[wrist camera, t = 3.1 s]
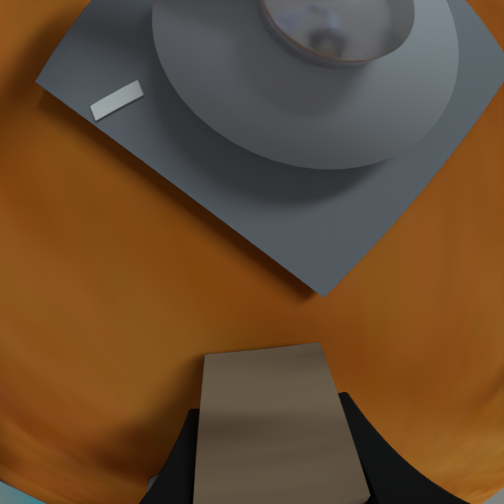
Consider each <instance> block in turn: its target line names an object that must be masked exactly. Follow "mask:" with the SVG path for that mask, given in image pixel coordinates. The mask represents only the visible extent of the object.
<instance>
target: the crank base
mask: <svg viewBox="0 0 504 504" xmlns="http://www.w3.org/2000/svg"><path fill="white" fill-rule="evenodd" d="M413 2H414V8H415V18H414V24H413V28H412V30H411V33H410V35H409V37H408V38H407V39H406V41H405V42H404V43H403V44H402V45H401V46H400V47H399V48H398V49H396V50H395V51H393V52H392V53H390V54H388V55H386V56H383V57H380V58H378V59H375V60H372V61H370V62H367V63H365V64H362V65H359V66H356V67H352V68H345V69H330V68H324V67H319V66H315V65H311V64H309V63H306V62H304V61H301V60H300V59H298V58H296V57H294V56H292V55H291V54H289V53H288V52H286V51H285V50H284V49H282V48H281V47H280V46H279V45H278V44H277V43H276V42H275V41H274V40H273V39H272V38H271V37H270V35H269V34H268V33H267V31H266V30H265V28H264V26H263V25H262V22H261V20H260V18H259V14H258V10H257V0H91V2H90V3H89V4H88V5H87V6H86V8H85V9H84V10H83V11H82V13H81V14H80V15H79V17H78V18H77V19H76V20H75V22H74V23H73V24H72V26H71V27H70V29H69V30H68V31H67V33H66V34H65V36H64V37H63V38H62V40H61V41H60V43H59V44H58V46H57V47H56V49H55V50H54V52H53V53H52V55H51V56H50V58H49V59H48V61H47V63H46V64H45V66H44V68H43V69H42V71H41V73H40V74H39V76H38V78H37V79H36V81H35V82H36V83H38V84H39V85H40V86H42V87H43V88H44V89H46V90H47V91H48V92H50V93H51V94H53V95H54V96H55V97H57V98H58V99H59V100H61V101H62V102H63V103H65V104H66V105H68V106H69V107H70V108H72V109H73V110H74V111H76V112H77V113H78V114H80V115H81V116H82V117H84V118H85V119H87V120H88V121H89V122H91V123H92V124H93V125H95V126H96V127H97V128H99V129H100V130H101V131H103V132H104V133H105V134H107V135H108V136H110V137H111V138H112V139H114V140H115V141H116V142H118V143H119V144H120V145H122V146H123V147H124V148H126V149H127V150H128V151H130V152H131V153H132V154H134V155H135V156H136V157H138V158H139V159H141V160H142V161H143V162H145V163H146V164H147V165H149V166H150V167H151V168H153V169H154V170H155V171H157V172H158V173H159V174H161V175H162V176H163V177H165V178H166V179H167V180H169V181H170V182H171V183H173V184H174V185H175V186H177V187H178V188H179V189H181V190H182V191H183V192H185V193H186V194H187V195H189V196H190V197H191V198H193V199H194V200H195V201H197V202H198V203H199V204H201V205H202V206H203V207H205V208H206V209H207V210H209V211H210V212H211V213H213V214H214V215H215V216H217V217H218V218H219V219H221V220H222V221H223V222H225V223H226V224H227V225H229V226H230V227H231V228H233V229H234V230H235V231H237V232H238V233H239V234H241V235H242V236H243V237H245V238H246V239H247V240H249V241H250V242H251V243H252V244H254V245H255V246H256V247H258V248H259V249H260V250H262V251H263V252H264V253H266V254H267V255H268V256H270V257H271V258H272V259H274V260H275V261H276V262H278V263H279V264H280V265H282V266H283V267H284V268H285V269H287V270H288V271H289V272H291V273H292V274H293V275H295V276H296V277H297V278H299V279H300V280H301V281H303V282H304V283H305V284H307V285H308V286H309V287H310V288H312V289H313V290H314V291H316V292H317V293H318V294H320V295H321V296H322V297H325V296H326V295H327V294H328V293H329V292H330V291H331V290H332V289H333V288H334V287H335V286H336V285H337V284H338V283H339V282H340V281H341V280H342V279H343V278H344V276H345V275H346V274H347V273H348V272H349V271H350V270H351V269H352V268H353V267H354V266H355V265H356V264H357V263H358V262H359V261H360V260H361V259H362V258H363V257H364V256H365V254H366V253H367V252H368V251H369V250H370V249H371V248H372V247H373V246H374V245H375V244H376V243H377V241H378V240H379V239H380V238H381V237H382V236H383V235H384V234H385V233H386V232H387V230H388V229H389V228H390V227H391V226H392V225H393V224H394V223H395V221H396V220H397V219H398V218H399V217H400V216H401V215H402V214H403V212H404V211H405V210H406V209H407V208H408V207H409V205H410V204H411V203H412V202H413V201H414V200H415V198H416V197H417V196H418V195H419V194H420V192H421V191H422V190H423V189H424V188H425V186H426V185H427V184H428V183H429V182H430V180H431V179H432V178H433V177H434V175H435V174H436V173H437V172H438V171H439V169H440V168H441V167H442V166H443V164H444V163H445V162H446V160H447V159H448V158H449V157H450V155H451V154H452V153H453V152H454V150H455V149H456V148H457V146H458V145H459V144H460V142H461V141H462V140H463V138H464V137H465V136H466V134H467V133H468V132H469V130H470V129H471V128H472V126H473V125H474V124H475V122H476V121H477V119H478V118H479V117H480V115H481V114H482V112H483V111H484V110H485V108H486V107H487V105H488V104H489V103H490V101H491V100H492V98H493V97H494V95H495V94H496V92H497V91H498V89H499V88H500V86H501V85H502V83H503V82H504V52H503V51H502V49H501V48H500V46H499V45H498V43H497V42H496V40H495V39H494V37H493V36H492V34H491V33H490V32H489V30H488V29H487V27H486V26H485V25H484V23H483V22H482V21H481V19H480V18H479V17H478V15H477V14H476V13H475V12H474V10H473V9H472V8H471V7H470V5H469V4H468V3H467V2H466V1H465V0H413Z"/></svg>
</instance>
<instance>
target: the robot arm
mask: <svg viewBox="0 0 504 504" xmlns="http://www.w3.org/2000/svg"><path fill="white" fill-rule="evenodd" d="M338 396H339V399H340V402H341V405H342V408H343V411H344V414H345V417H346V420H347V423H348V426H349V429H350V432H351V435H352V438H353V441H354V445H355V448H356V451H357V454H358V457H359V460H360V463H361V467H362V470H363V473H364V476H365V480H366V483H367V486H368V489H369V493H370V497H369V498H368V500H367V502H366V503H365V504H470V503H468V502H466V501H464V500H462V499H460V498H458V497H456V496H454V495H452V494H451V493H449V492H448V491H446V490H444V489H443V488H441V487H440V486H438V485H437V484H435V483H433V482H432V481H431V480H429V479H428V478H426V477H425V476H424V475H422V474H421V473H420V472H419V471H417V470H416V469H415V468H414V467H413V466H411V465H410V464H409V463H408V462H407V461H406V460H404V459H403V458H402V457H401V456H400V455H399V454H398V453H397V452H396V451H395V450H394V449H393V448H392V447H391V446H390V445H389V444H388V443H387V442H386V441H385V440H384V438H383V437H382V436H381V435H380V434H379V433H378V432H377V431H376V429H375V428H374V427H373V426H372V425H371V423H370V422H369V421H368V420H367V419H366V417H365V416H364V415H363V413H362V412H361V411H360V409H359V408H358V407H357V405H356V404H355V403H354V401H353V400H352V398H351V397H350V395H349V394H348V393H347V392H342V393H338ZM199 415H200V409H190V410H189V411H188V414H187V417H186V420H185V422H184V425H183V427H182V430H181V432H180V434H179V436H178V439H177V441H176V443H175V445H174V447H173V449H172V451H171V453H170V455H169V457H168V459H167V461H166V463H165V464H164V466H163V468H162V470H161V471H160V473H159V475H158V476H157V478H156V480H155V481H154V483H153V484H152V486H151V487H150V489H149V490H148V492H147V493H146V495H145V496H144V497H143V499H142V500H141V502H140V503H139V504H193V499H194V482H195V467H196V453H197V439H198V427H199Z"/></svg>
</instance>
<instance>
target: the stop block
mask: <svg viewBox="0 0 504 504" xmlns="http://www.w3.org/2000/svg"><path fill="white" fill-rule="evenodd" d="M369 497H370V493H369V489H368V486H367V483H366V480H365V476H364V473H363V470H362V467H361V463H360V460H359V457H358V454H357V451H356V448H355V445H354V441H353V438H352V435H351V432H350V429H349V426H348V423H347V420H346V417H345V414H344V411H343V408H342V405H341V402H340V399H339V396H338V393H337V390H336V387H335V384H334V381H333V378H332V375H331V373H330V370H329V367H328V364H327V361H326V358H325V355H324V352H323V350H322V347H321V344H320V342H315V343H308V344H300V345H293V346H285V347H277V348H268V349H259V350H249V351H239V352H227V353H215V354H205V361H204V371H203V381H202V392H201V403H200V415H199V427H198V439H197V453H196V467H195V482H194V499H193V504H365V503H366V502H367V500H368V498H369Z"/></svg>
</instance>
